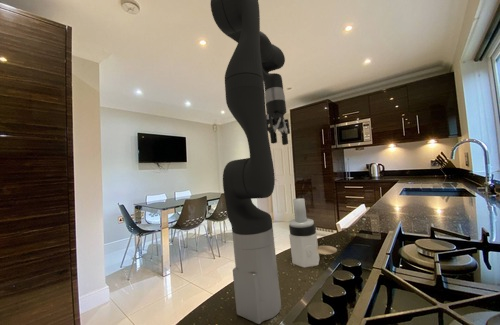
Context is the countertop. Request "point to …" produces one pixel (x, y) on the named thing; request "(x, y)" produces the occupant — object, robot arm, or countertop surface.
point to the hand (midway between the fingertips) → (280, 143)
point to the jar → (304, 246)
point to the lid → (300, 215)
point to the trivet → (326, 249)
